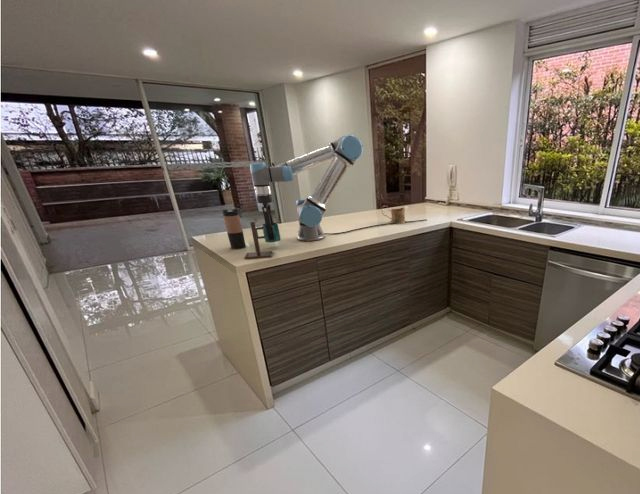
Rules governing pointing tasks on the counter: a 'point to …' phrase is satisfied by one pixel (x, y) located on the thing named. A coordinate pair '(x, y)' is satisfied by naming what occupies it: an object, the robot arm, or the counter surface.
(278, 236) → the teal mug
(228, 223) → the travel mug
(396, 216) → the mug
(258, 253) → the mug stand
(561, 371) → the counter surface
